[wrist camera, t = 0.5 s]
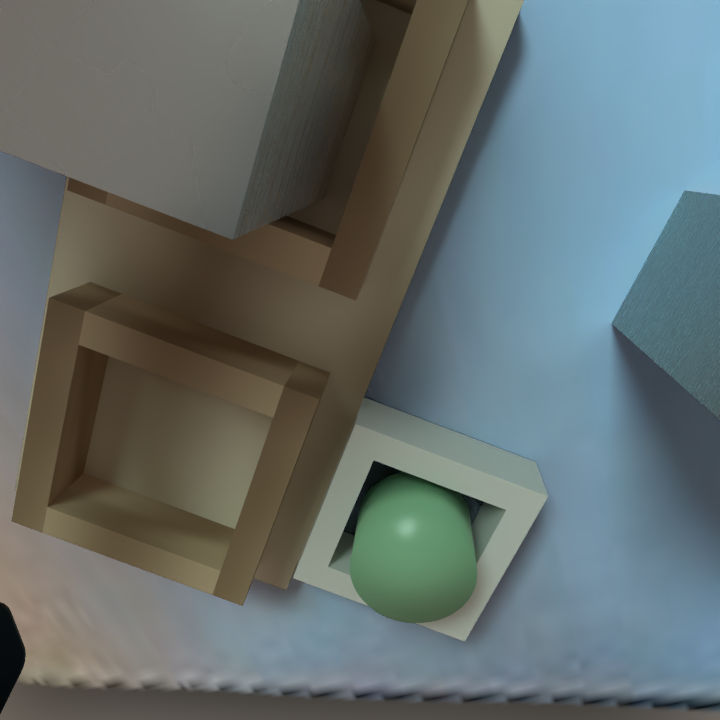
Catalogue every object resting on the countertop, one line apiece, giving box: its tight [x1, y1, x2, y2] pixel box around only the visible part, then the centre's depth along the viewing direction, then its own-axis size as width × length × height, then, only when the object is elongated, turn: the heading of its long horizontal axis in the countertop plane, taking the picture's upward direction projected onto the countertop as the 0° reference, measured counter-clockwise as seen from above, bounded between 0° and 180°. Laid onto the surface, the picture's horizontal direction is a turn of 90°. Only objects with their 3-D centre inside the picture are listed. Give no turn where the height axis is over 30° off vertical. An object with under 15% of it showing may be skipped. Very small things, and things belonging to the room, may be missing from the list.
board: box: [12, 0, 524, 606], centre depth 16 cm, size 10×19×3 cm, turn 160°
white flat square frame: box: [293, 397, 548, 641], centre depth 19 cm, size 6×6×2 cm
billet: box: [0, 0, 376, 240], centre depth 11 cm, size 4×4×8 cm
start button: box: [350, 472, 477, 623], centre depth 17 cm, size 4×4×2 cm
